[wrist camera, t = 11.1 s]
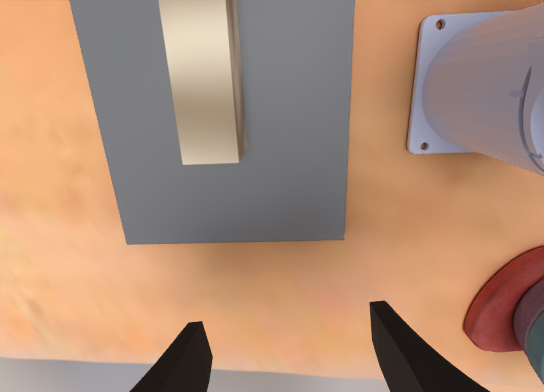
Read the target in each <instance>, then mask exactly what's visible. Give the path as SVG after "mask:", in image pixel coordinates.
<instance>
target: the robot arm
mask: <svg viewBox="0 0 544 392" xmlns="http://www.w3.org/2000/svg"><path fill="white" fill-rule="evenodd" d="M438 20H439V21H441V22H442V27H441V29H440V30H439V29H437V28H436V23H437V21H438ZM422 143H426V147H425V148H424V149H421V144H422ZM407 149H408V151H409V152H411V153H412V154H435V153H464V152H478V153H481V154H484V155H487V156H489V157H492V158H495V159H498V160H501V161H503V162H506V163H509V164H512V165H515V166H518V167H520V168H523V169H526V170H529V171H532V172H534V173H537V174H540V175H543V176H544V2H543V3H540V4H537V5H534V6H530V7H527V8H524V9H521V10H514V11H496V12H478V13H460V14H442V15H431V16H428V17H426V18H425V19H423V21H422V22H421V25H420V33H419V42H418V51H417V60H416V69H415V78H414V87H413V96H412V105H411V114H410V123H409V132H408V141H407ZM370 316H371V331H372V342H373V345H374V349H375V352H376V355H377V359H378V362H379V365H380V368H381V370H382V373H383V375H384V378H385V380H386V382H387V385H388V387H389V389H390V392H490V391H488V390H487V389H485V388H484V387H482V386H481V385H479V384H478V383H476V382H475V381H474V380H472V379H471V378H469V377H468V376H467V375H465V374H464V373H463V372H461V371H460V370H459V369H457V368H456V367H455V366H453V365H452V364H451V363H450V362H448V361H447V360H446V359H445V358H444V357H442V356H441V355H440V354H439V353H438V352H437V351H435V350H434V349H433V348H432V347H431V346H430V345H429V344H427V343H426V342H425V341H424V340H423V339H422V338H421V337H420V336H419V335H418V334H417V333H416V332H415V331H414V330H413V329H412V328H411V327H410V326H409V325H408V324H407V323H406V322H405V321H404V320H403V319H402V318H401V317H400V316H399V315H398V314H397V313H396V312H395V311H394V310H393V309H392V307H391V306H390V305H389V304H388V303H387V302H386V301H376V302H370ZM212 358H213V356H212V353H211V349H210V346H209V343H208V339H207V336H206V333H205V329H204V326H203V323H202V321H199V322H190V323H188V324H187V325H186V326H185V328H184V329H183V330H182V331H181V333H180V334H179V335H178V336H177V338H176V339H175V340H174V341H173V343H172V344H171V345H170V346H169V348H168V349H167V350H166V351H165V352H164V354H163V355H162V356H161V357H160V358H159V360H158V361H157V362H156V363H155V364H154V365H153V367H152V368H151V369H150V370H149V371H148V372H147V373H146V374H145V376H144V377H143V378H142V379H141V380H140V381H139V382H138V383H137V384H136V385H135V387H134V388H133V389H132V390H131V391H130V392H207V388H208V384H209V379H210V373H211V366H212Z"/></svg>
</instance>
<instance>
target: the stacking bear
mask: <svg viewBox="0 0 544 392" xmlns="http://www.w3.org/2000/svg"><path fill="white" fill-rule="evenodd" d="M464 331H465V334H466V335H467V336H468V337H469V338H470V340H471V341H472V342H473V343H474V345H476V346H477V347H478V348H480V349H482V350H485V351H493V352H510V351H521V350H524V352H525V354H526V355H527V357H528V359H529V361H530V364H531V366H532V367H533V369H534V371H535V372H536V374H537V375H538V377H539V378H540V380H541V381H542V383H543V384H544V247H541V248H538V249H535V250H532V251H530V252H527V253H525V254H523V255H522V256H520V257H518V258H517V259H515V260H513V261H512V262H511V263H509V264H508V265H507V266H505V267H504V268H503V269H502V270H501V271H500V272H499V273H497V274H496V275H495V276H494V277H493V278H492V279H491V280H490V281H489V282H488V283H487V284H486V286H485V287H484V288H483V289H482V291H481V292H480V293H479V295H478V296H477V297H476V299H475V301H474V302H473V304H472V306H471V308H470V310H469V313H468V315H467V318H466V321H465V326H464Z"/></svg>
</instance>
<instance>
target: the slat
mask: <svg viewBox="0 0 544 392" xmlns="http://www.w3.org/2000/svg"><path fill="white" fill-rule="evenodd" d="M158 1H159V8H160V15H161V21H162V28H163V35H164V42H165V48H166V55H167V62H168V69H169V75H170V82H171V89H172V96H173V102H174V109H175V116H176V123H177V129H178V136H179V143H180V150H181V156H182V163H183V165H191V164H221V163H239V162H240V160H241V158H242V156H243V155H244V153H245V151H246V149H247V137H246V123H245V109H244V95H243V81H242V67H241V53H240V39H239V25H238V11H237V0H158Z"/></svg>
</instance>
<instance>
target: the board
mask: <svg viewBox="0 0 544 392" xmlns="http://www.w3.org/2000/svg"><path fill="white" fill-rule="evenodd" d="M69 1H70V5H71V9H72V14H73V18H74V22H75V26H76V31H77V35H78V39H79V43H80V48H81V52H82V56H83V60H84V64H85V69H86V73H87V77H88V81H89V86H90V90H91V94H92V98H93V103H94V107H95V111H96V115H97V120H98V124H99V128H100V132H101V137H102V141H103V145H104V149H105V154H106V158H107V162H108V166H109V170H110V175H111V179H112V183H113V187H114V192H115V196H116V200H117V204H118V209H119V213H120V217H121V221H122V226H123V230H124V234H125V238H126V243H127V245H132V244H179V243H226V242H273V241H320V240H344V233H345V211H346V188H347V165H348V142H349V119H350V96H351V73H352V50H353V28H354V5H355V0H237V11H238V25H239V39H240V53H241V67H242V81H243V95H244V109H245V123H246V137H247V149H246V151H245V153H244V155H243V156H242V158H241V160H240V162H239V163H221V164H191V165H183V163H182V156H181V150H180V143H179V136H178V129H177V123H176V116H175V109H174V102H173V96H172V89H171V82H170V75H169V69H168V62H167V55H166V48H165V42H164V35H163V28H162V21H161V15H160V8H159V1H158V0H69Z"/></svg>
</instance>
